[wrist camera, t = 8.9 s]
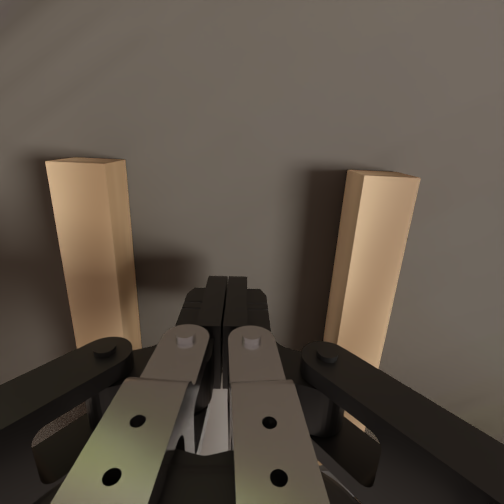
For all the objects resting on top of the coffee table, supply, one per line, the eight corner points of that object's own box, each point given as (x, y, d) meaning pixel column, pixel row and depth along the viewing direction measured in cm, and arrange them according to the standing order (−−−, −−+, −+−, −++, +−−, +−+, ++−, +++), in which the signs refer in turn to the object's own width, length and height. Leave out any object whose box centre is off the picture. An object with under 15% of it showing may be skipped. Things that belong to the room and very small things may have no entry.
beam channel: (397, 171, 13) (426, 179, 11) (326, 530, 21) (336, 575, 19) (73, 157, 13) (38, 162, 11) (125, 528, 21) (111, 574, 18)
